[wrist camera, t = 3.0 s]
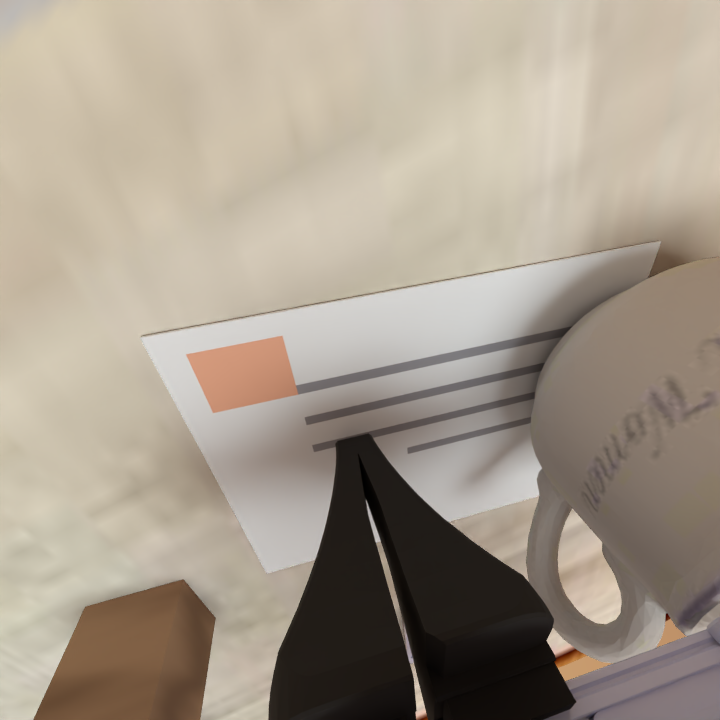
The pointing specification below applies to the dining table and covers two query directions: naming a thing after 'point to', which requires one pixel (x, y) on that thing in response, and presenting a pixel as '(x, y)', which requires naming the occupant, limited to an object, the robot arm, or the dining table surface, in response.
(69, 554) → the dining table surface
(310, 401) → the letter
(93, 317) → the dining table surface
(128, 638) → the walnut block
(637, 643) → the teacup
